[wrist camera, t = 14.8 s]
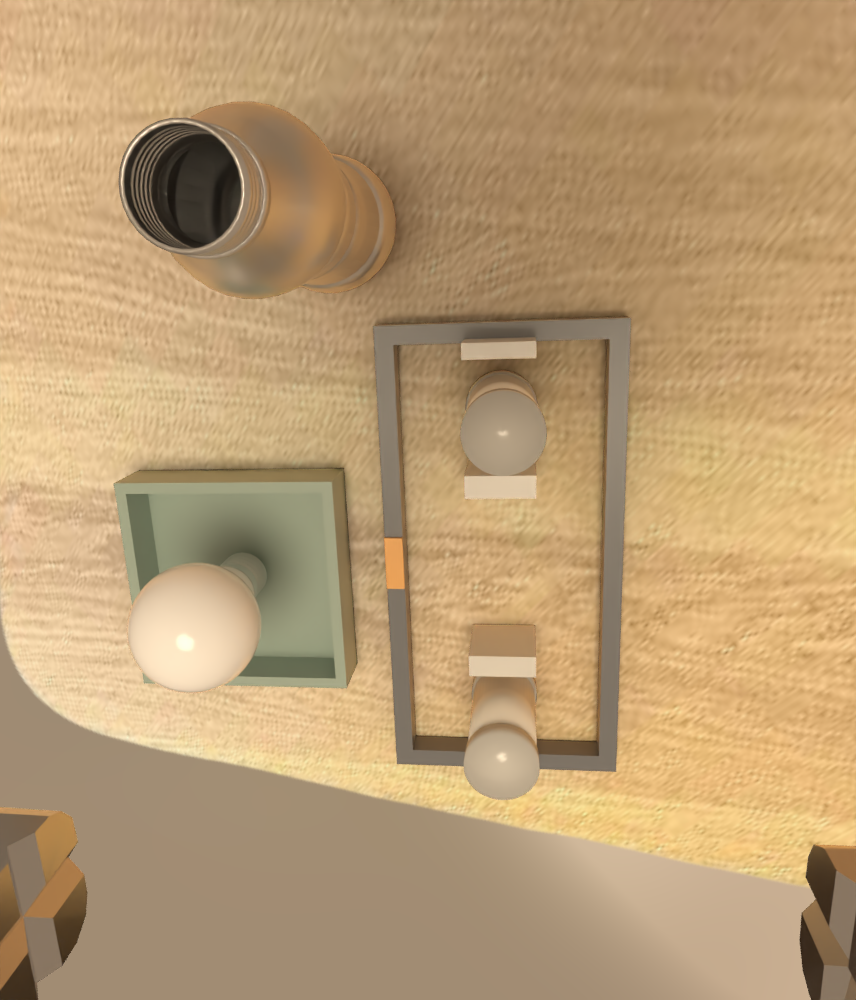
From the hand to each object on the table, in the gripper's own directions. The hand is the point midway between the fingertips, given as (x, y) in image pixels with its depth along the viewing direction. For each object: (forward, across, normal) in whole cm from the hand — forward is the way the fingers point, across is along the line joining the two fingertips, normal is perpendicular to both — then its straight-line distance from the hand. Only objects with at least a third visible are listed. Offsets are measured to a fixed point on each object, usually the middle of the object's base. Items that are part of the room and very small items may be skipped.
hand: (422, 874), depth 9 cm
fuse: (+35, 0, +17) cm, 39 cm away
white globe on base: (+35, 0, 0) cm, 35 cm away
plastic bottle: (+35, +8, -9) cm, 37 cm away
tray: (+35, +15, +10) cm, 39 cm away
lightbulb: (+35, +15, +10) cm, 39 cm away
